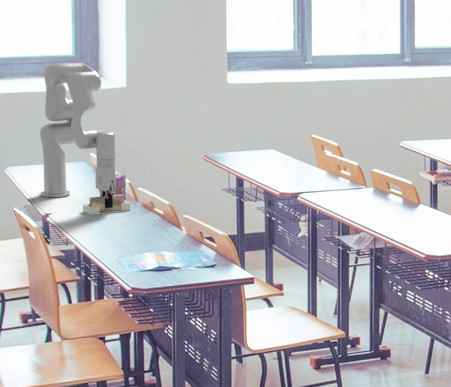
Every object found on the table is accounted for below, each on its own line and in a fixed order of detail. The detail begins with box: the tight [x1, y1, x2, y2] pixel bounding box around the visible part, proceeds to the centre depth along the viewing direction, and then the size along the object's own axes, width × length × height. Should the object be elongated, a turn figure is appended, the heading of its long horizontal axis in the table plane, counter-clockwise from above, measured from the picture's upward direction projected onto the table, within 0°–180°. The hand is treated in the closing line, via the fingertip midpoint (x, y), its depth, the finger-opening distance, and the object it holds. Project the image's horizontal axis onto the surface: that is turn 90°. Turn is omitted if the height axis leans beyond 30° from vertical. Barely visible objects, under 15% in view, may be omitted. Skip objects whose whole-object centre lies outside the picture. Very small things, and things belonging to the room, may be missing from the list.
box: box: [108, 172, 127, 201], centre depth 431 cm, size 10×6×12 cm, turn 168°
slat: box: [88, 194, 124, 213], centre depth 415 cm, size 3×14×6 cm, turn 123°
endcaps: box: [82, 200, 131, 216], centre depth 415 cm, size 8×18×3 cm, turn 123°
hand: (106, 206), depth 415 cm, fingers closed on slat, 3 cm apart
